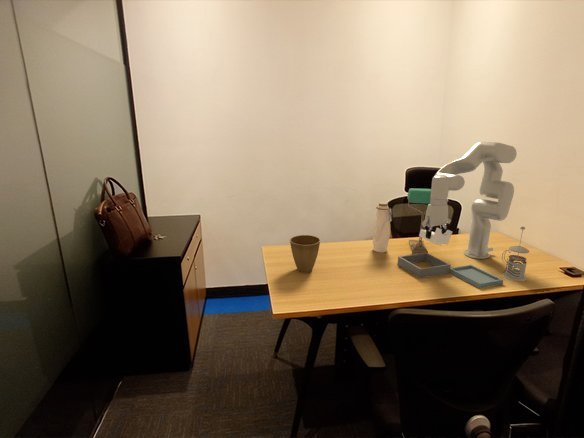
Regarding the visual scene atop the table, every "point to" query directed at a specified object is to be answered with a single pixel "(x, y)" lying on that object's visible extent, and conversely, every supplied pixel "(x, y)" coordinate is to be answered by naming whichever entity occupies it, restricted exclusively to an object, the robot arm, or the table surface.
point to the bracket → (437, 236)
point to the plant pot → (305, 251)
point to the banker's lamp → (421, 197)
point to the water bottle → (382, 228)
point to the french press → (516, 263)
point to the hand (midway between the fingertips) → (434, 237)
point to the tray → (476, 276)
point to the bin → (438, 268)
